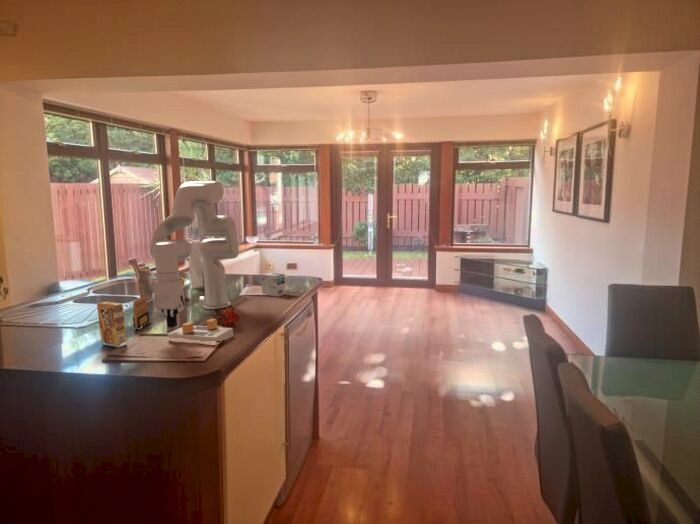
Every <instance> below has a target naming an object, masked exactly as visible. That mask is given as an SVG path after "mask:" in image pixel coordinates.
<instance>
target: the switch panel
mask: <svg viewBox="0 0 700 524" xmlns="http://www.w3.org/2000/svg"><path fill="white" fill-rule="evenodd" d="M193 329H194V331H192V332H190V333H183V329H182V326H181V327H179V328H177V329H175V330H173V331H170V332H169V333H167V338H168V337H169V338H183V339H189V340H200V341H222V340H225V341H227V340H229V339H231V338H232V337H234V327H228V328H223V327H222V326H217V327H216V328H214V329H207V325H206V326H205V325H193ZM230 337H231V338H230ZM228 338H229V339H228ZM226 339H227V340H226Z"/></svg>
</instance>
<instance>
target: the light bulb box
mask: <svg viewBox="0 0 700 524" xmlns="http://www.w3.org/2000/svg"><path fill="white" fill-rule="evenodd" d="M260 279H261V291H262V293H263V294H267V295H266V296H269V295H270V297H281V296H284V295H286V294H287V286H286V274H285V273H279V272H265V273H261V274H260ZM262 293H261V294H262ZM283 294H284V295H283Z"/></svg>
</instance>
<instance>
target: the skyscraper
mask: <svg viewBox="0 0 700 524" xmlns="http://www.w3.org/2000/svg"><path fill="white" fill-rule="evenodd" d="M185 240H186V241H188V240H190V241H188V242H189V243H190V245H191V248H192V250H191V254H190V256H189V257H188V268H189V269H188V270H189V277H190V281H191V287H192V288H191V289H192V290H202V289H204V290H205V286H204V274H203V264H202V259H201V255H200V251H199V245H200V243H201V241H202V240H199V239H192V238H189V237H186V238H185Z"/></svg>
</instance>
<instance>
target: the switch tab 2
mask: <svg viewBox="0 0 700 524" xmlns="http://www.w3.org/2000/svg"><path fill="white" fill-rule="evenodd" d="M205 321H206V326H207V329H214V328H216V327H218V325H217V319H215V318H210V319H208V320H205Z"/></svg>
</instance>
